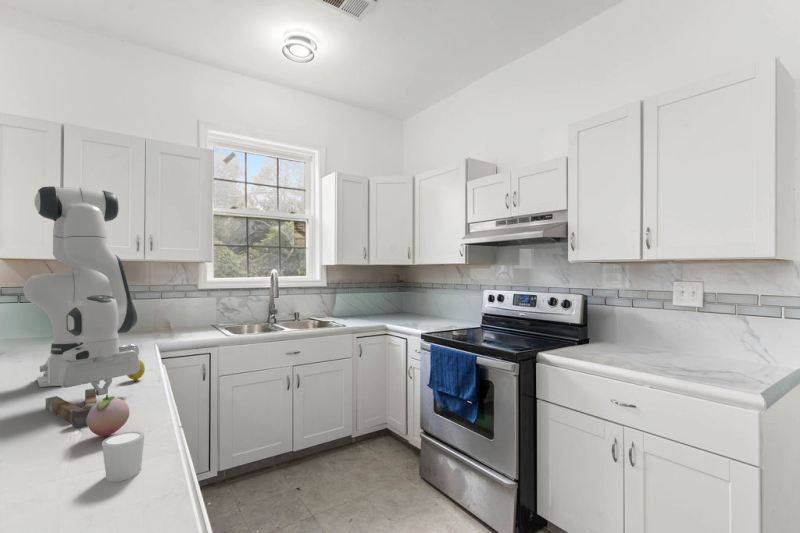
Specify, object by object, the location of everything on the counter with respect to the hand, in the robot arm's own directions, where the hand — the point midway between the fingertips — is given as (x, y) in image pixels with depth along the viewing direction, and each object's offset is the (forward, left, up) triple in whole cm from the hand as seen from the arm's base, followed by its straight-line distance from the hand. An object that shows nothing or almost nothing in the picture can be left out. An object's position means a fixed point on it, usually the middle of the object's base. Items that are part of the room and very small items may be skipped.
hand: (101, 394), depth 123 cm
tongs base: (+7, -9, -2) cm, 11 cm away
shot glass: (+55, -16, -2) cm, 58 cm away
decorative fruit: (+32, -10, -2) cm, 34 cm away
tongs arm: (+5, -5, -2) cm, 7 cm away
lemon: (-16, +16, -2) cm, 23 cm away
